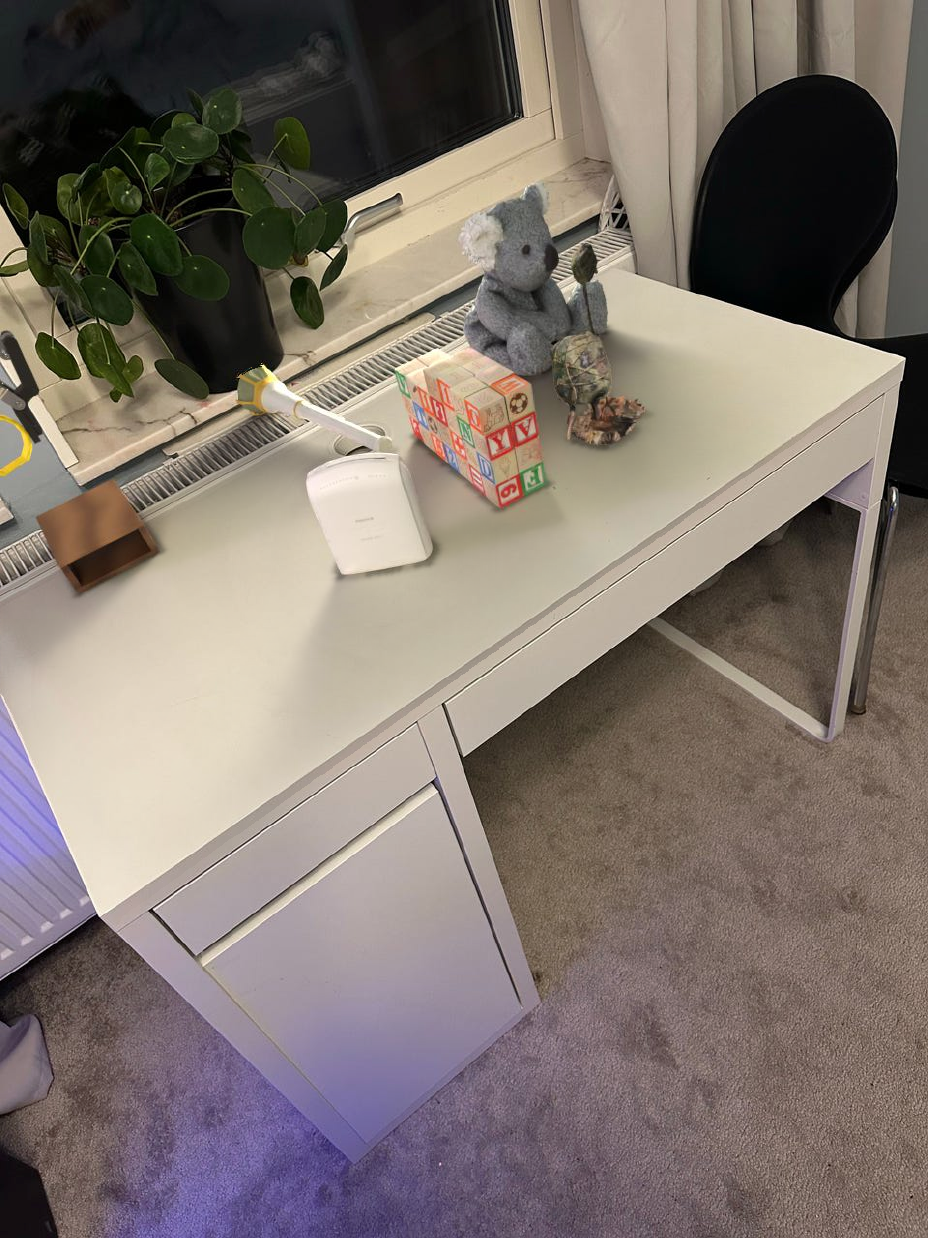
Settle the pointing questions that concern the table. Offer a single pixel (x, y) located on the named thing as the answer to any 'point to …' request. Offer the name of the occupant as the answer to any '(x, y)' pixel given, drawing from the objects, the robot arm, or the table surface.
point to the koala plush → (522, 286)
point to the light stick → (299, 408)
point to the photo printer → (369, 512)
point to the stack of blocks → (476, 420)
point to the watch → (26, 449)
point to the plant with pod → (590, 374)
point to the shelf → (110, 560)
